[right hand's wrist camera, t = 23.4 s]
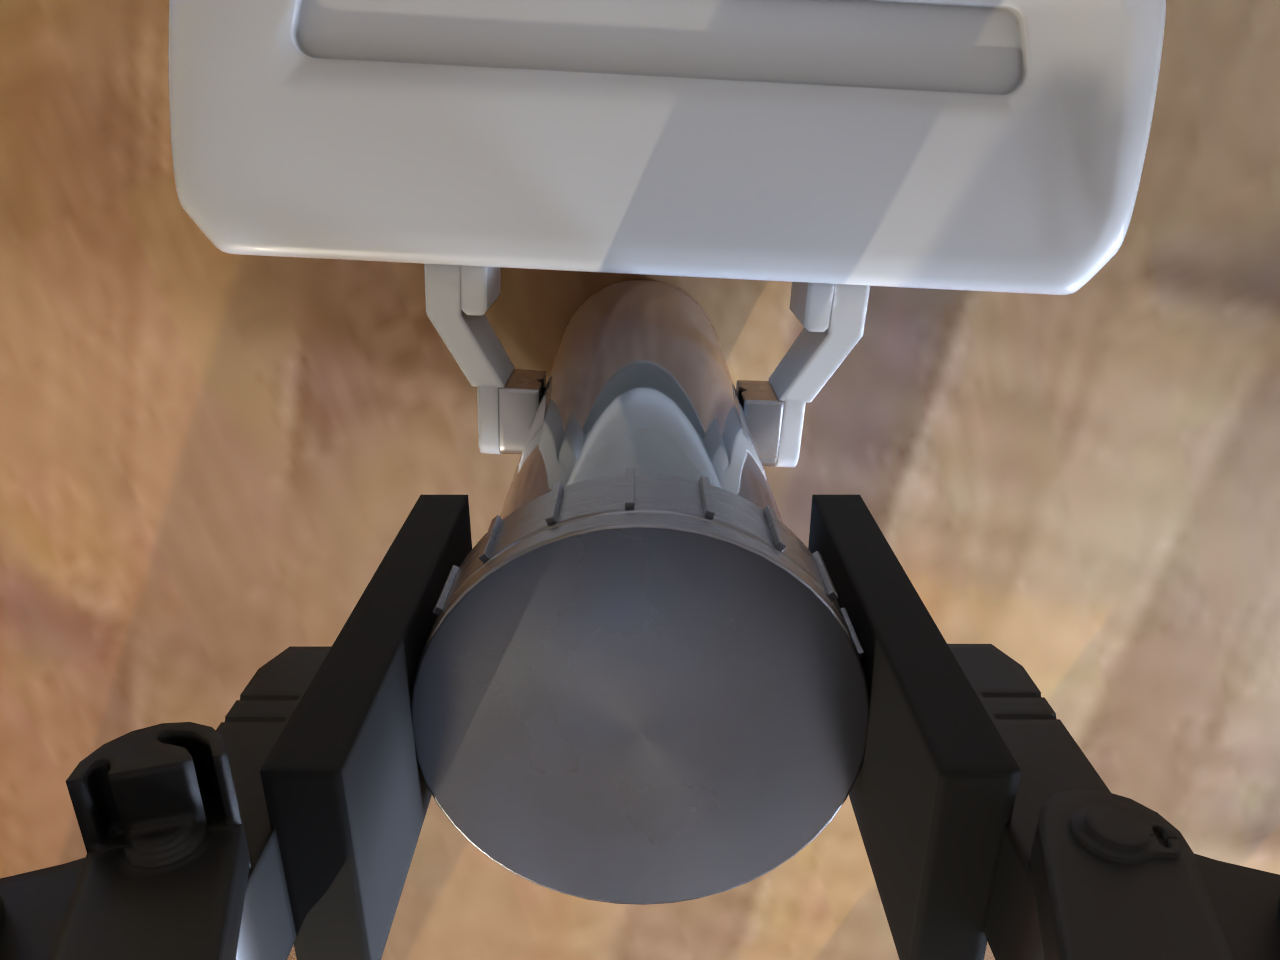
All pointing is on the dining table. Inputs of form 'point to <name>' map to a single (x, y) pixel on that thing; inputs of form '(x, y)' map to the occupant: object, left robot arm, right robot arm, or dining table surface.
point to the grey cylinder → (639, 400)
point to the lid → (640, 691)
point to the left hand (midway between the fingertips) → (640, 453)
